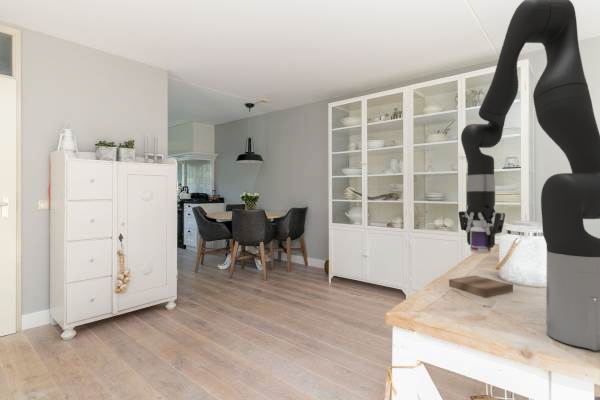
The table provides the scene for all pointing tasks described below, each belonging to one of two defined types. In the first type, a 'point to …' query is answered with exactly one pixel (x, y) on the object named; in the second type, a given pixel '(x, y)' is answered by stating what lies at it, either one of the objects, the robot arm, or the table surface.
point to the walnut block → (481, 286)
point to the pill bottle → (478, 239)
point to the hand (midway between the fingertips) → (480, 245)
